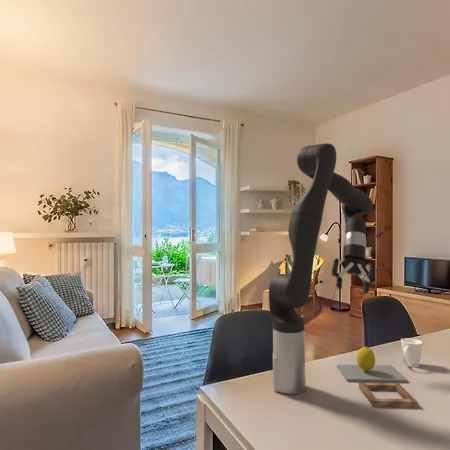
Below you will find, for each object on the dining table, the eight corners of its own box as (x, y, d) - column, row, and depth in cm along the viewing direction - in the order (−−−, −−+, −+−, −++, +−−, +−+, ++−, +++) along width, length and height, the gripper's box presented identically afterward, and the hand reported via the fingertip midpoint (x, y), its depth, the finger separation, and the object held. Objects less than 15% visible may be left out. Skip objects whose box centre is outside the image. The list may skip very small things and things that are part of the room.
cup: (426, 364, 122) (426, 341, 122) (416, 372, 115) (415, 347, 115) (405, 359, 127) (404, 336, 127) (393, 366, 120) (393, 342, 121)
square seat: (372, 406, 93) (372, 400, 93) (359, 387, 104) (358, 382, 104) (417, 407, 92) (417, 401, 92) (398, 388, 104) (398, 383, 104)
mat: (346, 381, 109) (346, 379, 109) (337, 366, 121) (337, 364, 121) (407, 382, 108) (407, 379, 108) (391, 367, 120) (391, 365, 120)
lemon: (377, 375, 111) (376, 349, 111) (358, 374, 112) (358, 348, 113) (373, 368, 117) (372, 344, 117) (355, 367, 118) (355, 343, 118)
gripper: (337, 240, 124) (334, 285, 118) (379, 246, 123) (377, 293, 117) (331, 246, 131) (328, 289, 125) (370, 253, 130) (369, 297, 124)
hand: (352, 291), depth 121 cm, fingers open, 8 cm apart
